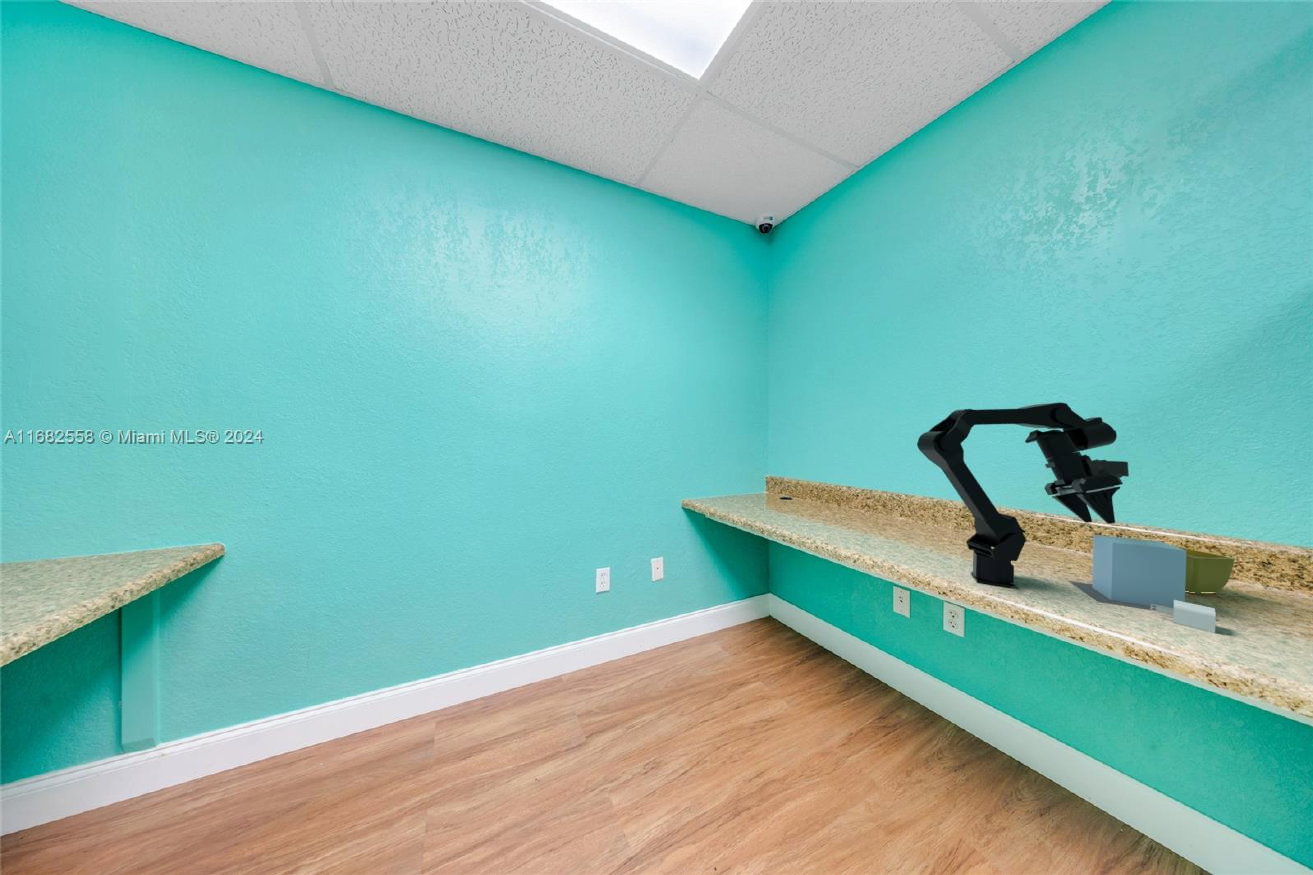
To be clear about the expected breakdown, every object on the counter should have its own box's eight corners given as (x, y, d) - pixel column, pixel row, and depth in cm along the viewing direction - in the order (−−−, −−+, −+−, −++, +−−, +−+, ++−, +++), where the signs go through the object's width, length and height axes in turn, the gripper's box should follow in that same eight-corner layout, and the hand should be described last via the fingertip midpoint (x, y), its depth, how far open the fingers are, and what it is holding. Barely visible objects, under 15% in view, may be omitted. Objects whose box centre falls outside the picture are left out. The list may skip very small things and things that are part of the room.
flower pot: (1178, 583, 91) (1179, 545, 91) (1235, 599, 82) (1236, 557, 82) (1143, 583, 90) (1144, 545, 90) (1196, 599, 82) (1198, 557, 82)
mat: (1097, 603, 79) (1097, 601, 79) (1067, 582, 90) (1067, 580, 90) (1220, 623, 71) (1220, 620, 71) (1170, 597, 82) (1170, 595, 82)
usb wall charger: (1215, 636, 66) (1215, 613, 66) (1150, 620, 72) (1150, 599, 72) (1213, 629, 69) (1214, 607, 69) (1150, 614, 74) (1151, 594, 74)
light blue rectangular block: (1111, 599, 80) (1112, 542, 79) (1092, 587, 86) (1093, 534, 86) (1184, 611, 75) (1186, 550, 75) (1158, 597, 81) (1160, 541, 81)
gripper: (1135, 437, 76) (1182, 514, 72) (1087, 450, 93) (1124, 513, 88) (1063, 454, 81) (1104, 527, 76) (1030, 463, 97) (1062, 524, 92)
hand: (1099, 522), depth 83 cm, fingers open, 9 cm apart
